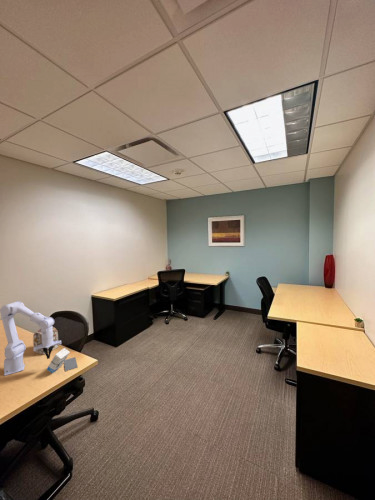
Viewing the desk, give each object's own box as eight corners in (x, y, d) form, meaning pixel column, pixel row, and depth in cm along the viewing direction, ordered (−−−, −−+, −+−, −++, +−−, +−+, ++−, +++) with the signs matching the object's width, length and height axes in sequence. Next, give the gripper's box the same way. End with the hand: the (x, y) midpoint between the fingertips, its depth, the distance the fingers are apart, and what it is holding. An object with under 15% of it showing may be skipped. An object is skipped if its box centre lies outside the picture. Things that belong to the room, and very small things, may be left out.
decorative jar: (43, 355, 147) (42, 331, 147) (33, 352, 151) (32, 329, 151) (59, 347, 159) (58, 324, 158) (48, 344, 163) (47, 322, 162)
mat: (65, 371, 129) (65, 370, 129) (63, 360, 140) (63, 360, 140) (77, 367, 133) (77, 366, 133) (75, 357, 144) (75, 356, 144)
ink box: (52, 373, 126) (61, 359, 125) (46, 369, 127) (54, 354, 126) (62, 365, 135) (70, 351, 134) (56, 361, 135) (64, 347, 134)
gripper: (32, 343, 121) (33, 365, 122) (61, 336, 129) (62, 357, 130) (33, 338, 127) (34, 359, 128) (60, 332, 135) (61, 352, 136)
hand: (48, 358), depth 129 cm, fingers closed
